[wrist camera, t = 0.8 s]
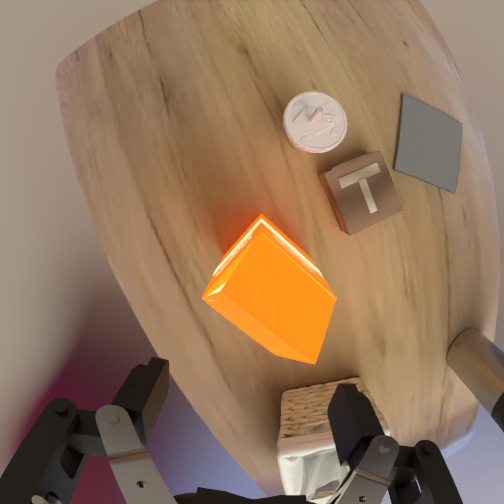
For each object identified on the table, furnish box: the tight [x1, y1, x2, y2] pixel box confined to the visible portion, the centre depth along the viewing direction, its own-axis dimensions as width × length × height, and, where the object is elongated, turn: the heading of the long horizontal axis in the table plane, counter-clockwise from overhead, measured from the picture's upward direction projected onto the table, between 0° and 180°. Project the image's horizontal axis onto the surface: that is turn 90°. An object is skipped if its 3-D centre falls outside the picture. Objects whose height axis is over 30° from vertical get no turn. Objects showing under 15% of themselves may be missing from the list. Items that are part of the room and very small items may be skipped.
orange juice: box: [202, 214, 337, 364], centre depth 27 cm, size 8×9×20 cm
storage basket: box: [277, 377, 390, 504], centre depth 37 cm, size 24×16×15 cm
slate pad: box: [393, 94, 462, 193], centre depth 32 cm, size 12×12×1 cm
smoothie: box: [283, 91, 347, 153], centre depth 26 cm, size 6×6×14 cm
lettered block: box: [318, 151, 402, 235], centre depth 32 cm, size 8×8×4 cm
